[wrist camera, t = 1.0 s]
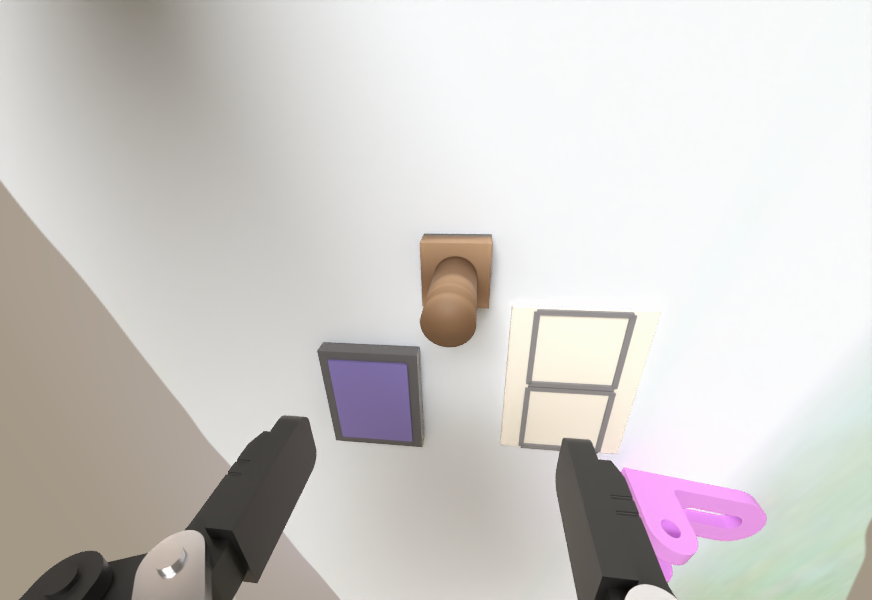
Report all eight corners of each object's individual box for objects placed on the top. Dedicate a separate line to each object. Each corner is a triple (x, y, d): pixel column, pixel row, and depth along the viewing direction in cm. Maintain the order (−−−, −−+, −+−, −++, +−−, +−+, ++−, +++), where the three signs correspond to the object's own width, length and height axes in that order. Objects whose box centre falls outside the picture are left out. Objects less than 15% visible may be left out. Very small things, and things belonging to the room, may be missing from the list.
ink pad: (323, 342, 29) (316, 352, 28) (419, 346, 28) (416, 357, 27) (340, 430, 34) (335, 441, 32) (424, 436, 33) (421, 448, 31)
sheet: (512, 305, 26) (512, 308, 25) (658, 310, 24) (662, 313, 24) (500, 442, 32) (500, 446, 31) (616, 450, 31) (618, 455, 30)
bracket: (600, 503, 34) (626, 586, 28) (623, 466, 32) (657, 549, 26) (734, 530, 34) (790, 621, 28) (768, 495, 31) (838, 586, 25)
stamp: (424, 233, 24) (400, 281, 17) (491, 234, 23) (495, 284, 16) (426, 293, 26) (406, 358, 19) (488, 295, 25) (491, 362, 18)
